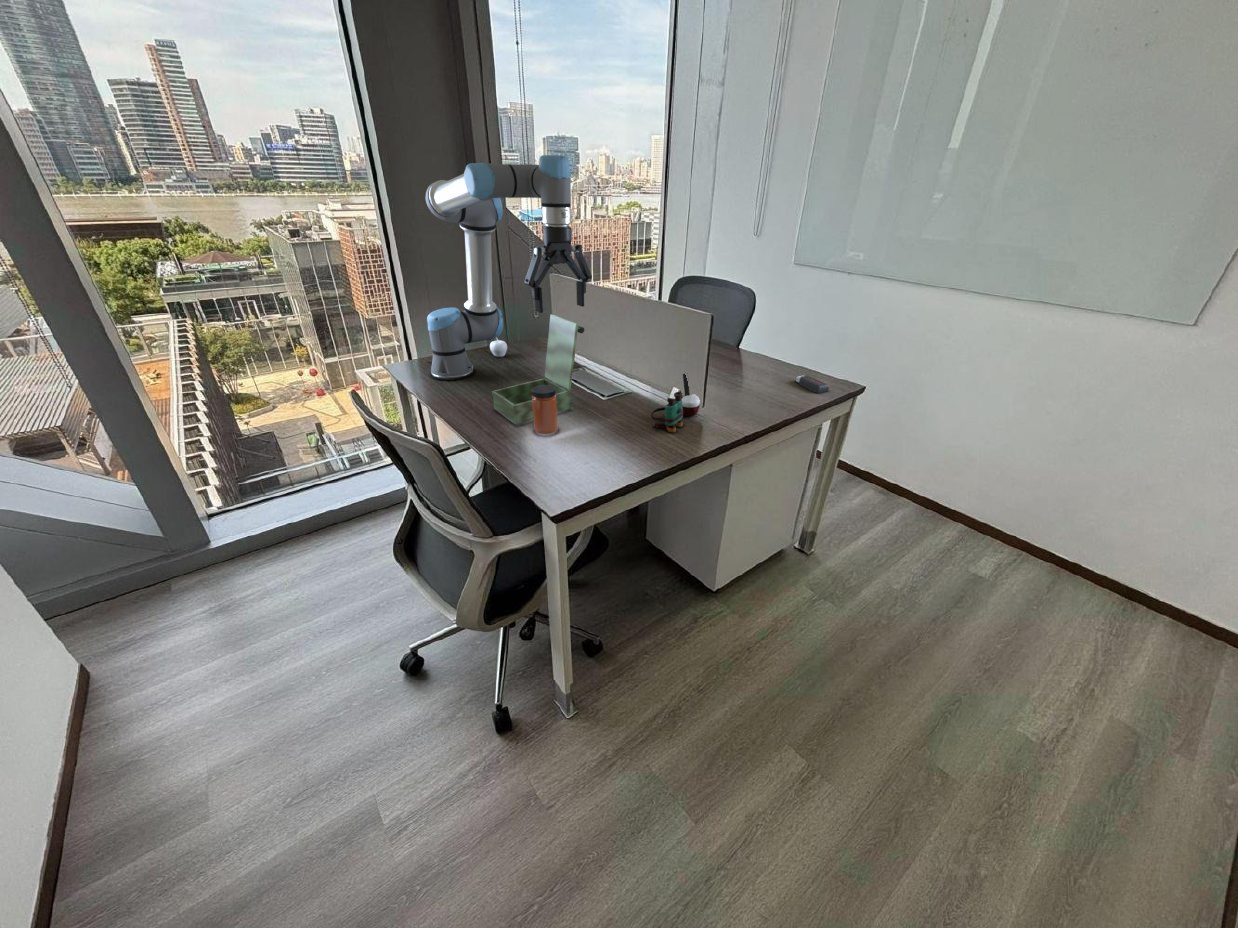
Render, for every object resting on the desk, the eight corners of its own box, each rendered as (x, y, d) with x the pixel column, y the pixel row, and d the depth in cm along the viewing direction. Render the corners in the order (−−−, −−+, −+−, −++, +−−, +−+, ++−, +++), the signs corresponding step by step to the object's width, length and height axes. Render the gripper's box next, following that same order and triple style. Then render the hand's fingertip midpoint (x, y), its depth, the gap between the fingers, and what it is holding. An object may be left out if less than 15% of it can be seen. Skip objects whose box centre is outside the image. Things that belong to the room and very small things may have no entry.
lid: (576, 323, 146) (591, 324, 149) (550, 314, 155) (565, 314, 159) (568, 389, 154) (583, 388, 158) (544, 376, 164) (559, 376, 167)
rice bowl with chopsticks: (698, 420, 153) (702, 384, 147) (678, 419, 154) (681, 383, 147) (698, 408, 161) (701, 374, 155) (679, 407, 162) (682, 372, 156)
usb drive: (817, 393, 174) (819, 386, 173) (793, 382, 184) (795, 375, 182) (828, 391, 176) (830, 383, 175) (804, 380, 186) (805, 373, 184)
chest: (516, 426, 147) (514, 406, 144) (494, 410, 157) (492, 390, 154) (570, 410, 158) (569, 391, 154) (546, 396, 168) (545, 377, 164)
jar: (530, 429, 146) (526, 387, 139) (550, 423, 150) (547, 382, 143) (542, 438, 141) (539, 395, 134) (562, 431, 145) (560, 389, 138)
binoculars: (658, 387, 150) (688, 391, 145) (659, 419, 155) (688, 424, 150) (644, 396, 144) (674, 401, 139) (645, 429, 149) (675, 435, 144)
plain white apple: (493, 352, 208) (491, 334, 204) (510, 353, 208) (508, 334, 203) (488, 357, 202) (486, 338, 198) (505, 358, 202) (503, 339, 197)
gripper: (520, 228, 118) (527, 317, 129) (604, 224, 131) (603, 305, 142) (506, 225, 123) (514, 311, 134) (588, 222, 136) (589, 300, 147)
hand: (560, 308), depth 138 cm, fingers open, 13 cm apart
